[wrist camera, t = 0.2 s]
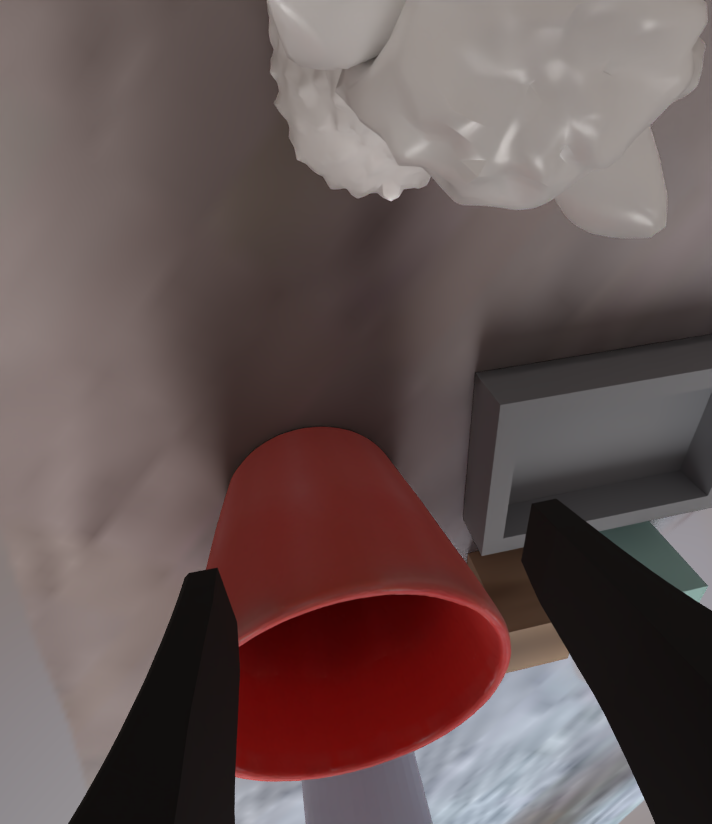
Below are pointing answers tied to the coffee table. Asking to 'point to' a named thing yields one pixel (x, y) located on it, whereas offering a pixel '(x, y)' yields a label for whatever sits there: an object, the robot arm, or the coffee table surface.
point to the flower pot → (346, 611)
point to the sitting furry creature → (490, 99)
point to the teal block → (657, 556)
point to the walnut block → (518, 609)
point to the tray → (591, 440)
